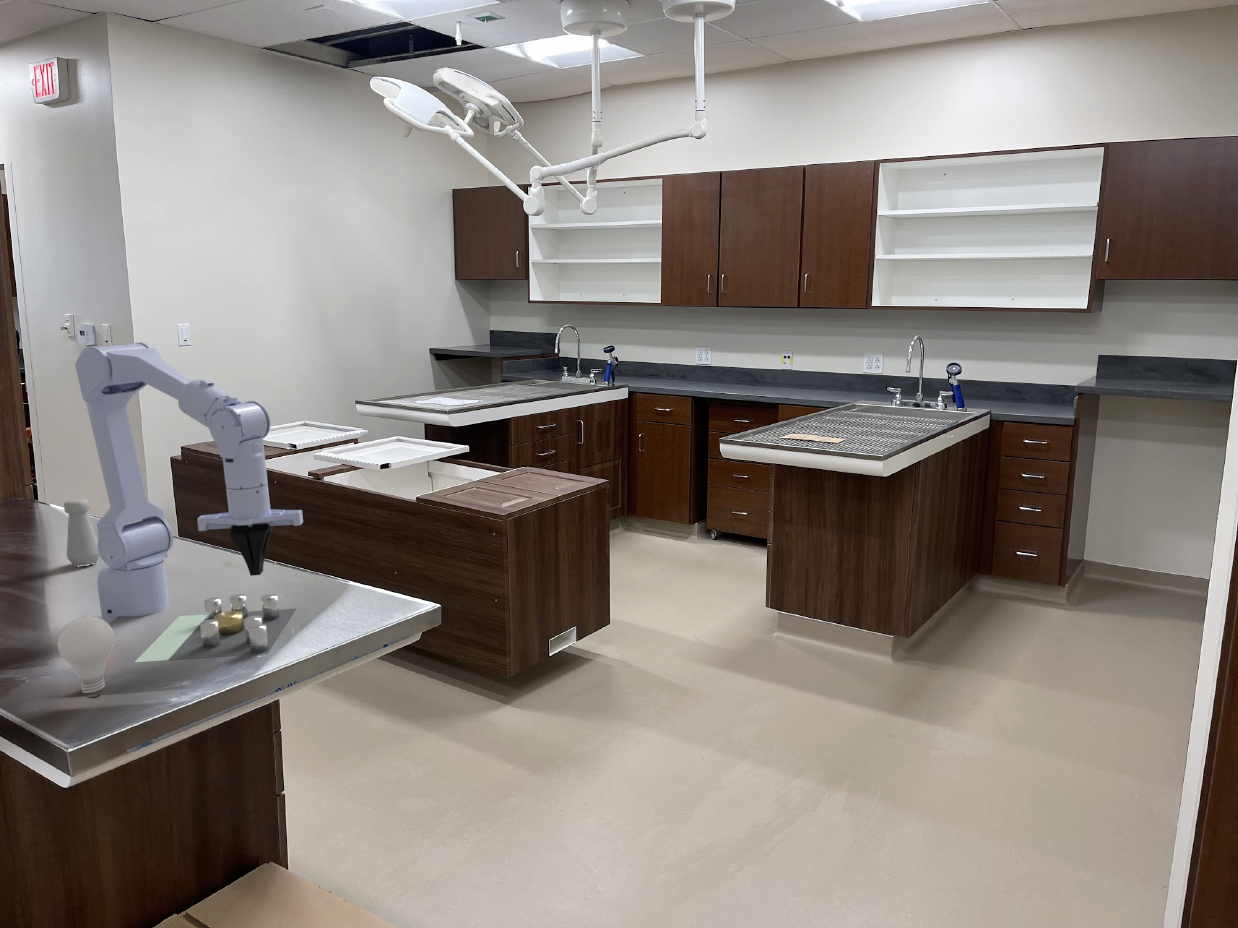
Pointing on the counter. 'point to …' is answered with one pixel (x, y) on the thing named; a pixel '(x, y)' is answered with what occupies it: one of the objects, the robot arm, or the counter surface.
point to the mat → (187, 640)
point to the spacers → (253, 624)
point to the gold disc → (230, 622)
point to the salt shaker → (80, 533)
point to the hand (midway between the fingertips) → (256, 573)
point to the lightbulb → (87, 650)
